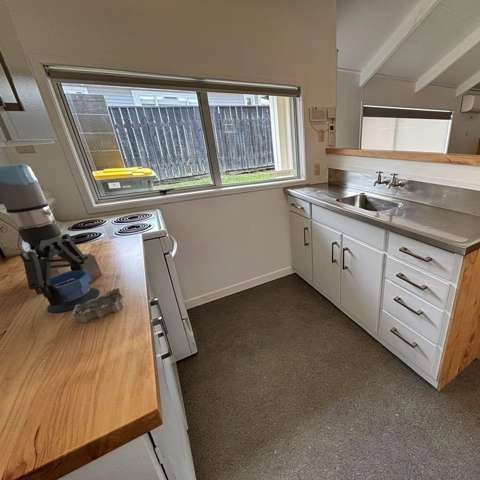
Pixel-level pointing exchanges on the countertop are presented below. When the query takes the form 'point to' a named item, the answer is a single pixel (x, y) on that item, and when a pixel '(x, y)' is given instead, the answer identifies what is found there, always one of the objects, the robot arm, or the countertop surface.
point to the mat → (74, 302)
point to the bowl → (72, 284)
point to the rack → (89, 265)
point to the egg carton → (99, 306)
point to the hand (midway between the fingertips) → (71, 293)
